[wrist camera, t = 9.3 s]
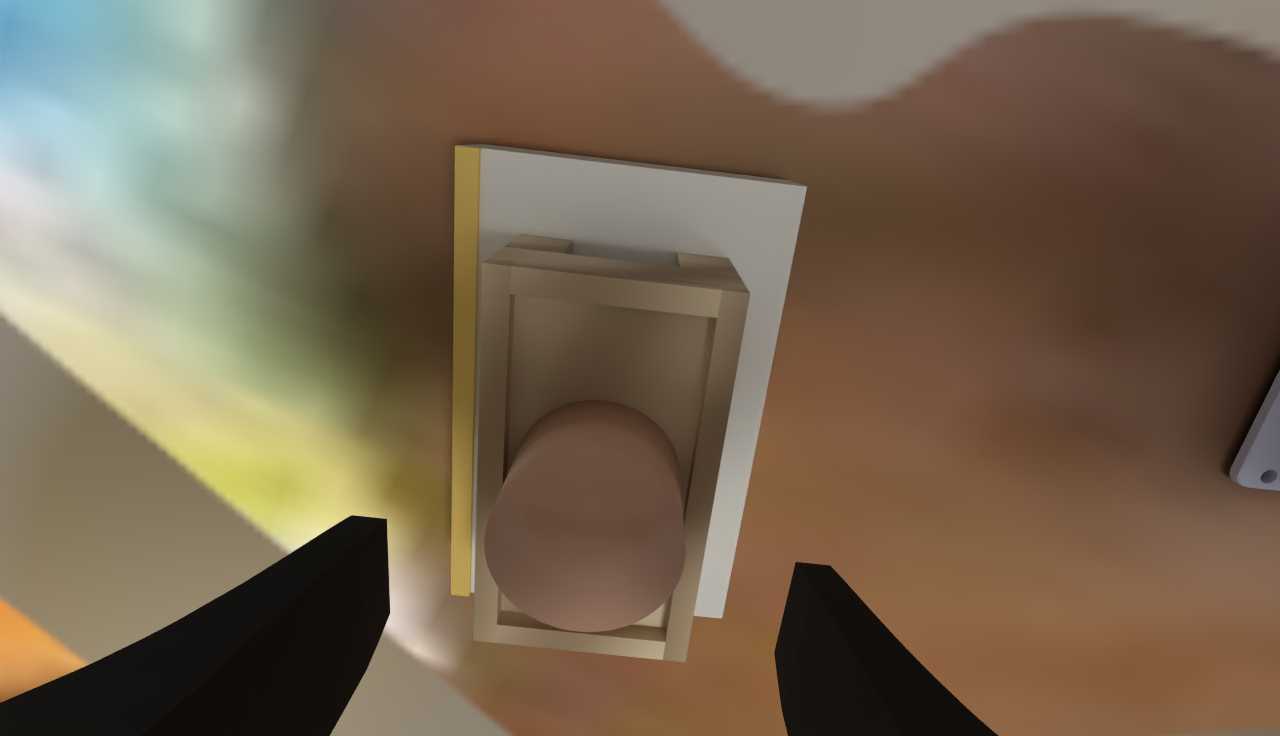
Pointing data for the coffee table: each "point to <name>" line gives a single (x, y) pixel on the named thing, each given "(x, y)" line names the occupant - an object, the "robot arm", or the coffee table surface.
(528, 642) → the wooden box
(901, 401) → the coffee table surface
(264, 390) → the coffee table surface
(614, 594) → the pink rounded cylinder
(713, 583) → the dock
